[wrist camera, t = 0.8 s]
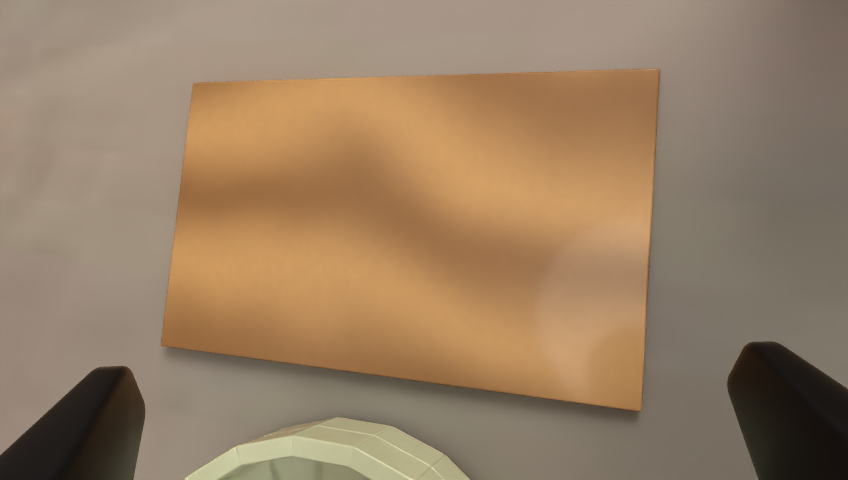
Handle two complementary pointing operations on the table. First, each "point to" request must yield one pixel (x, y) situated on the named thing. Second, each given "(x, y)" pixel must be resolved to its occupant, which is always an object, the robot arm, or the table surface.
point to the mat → (423, 228)
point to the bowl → (332, 455)
